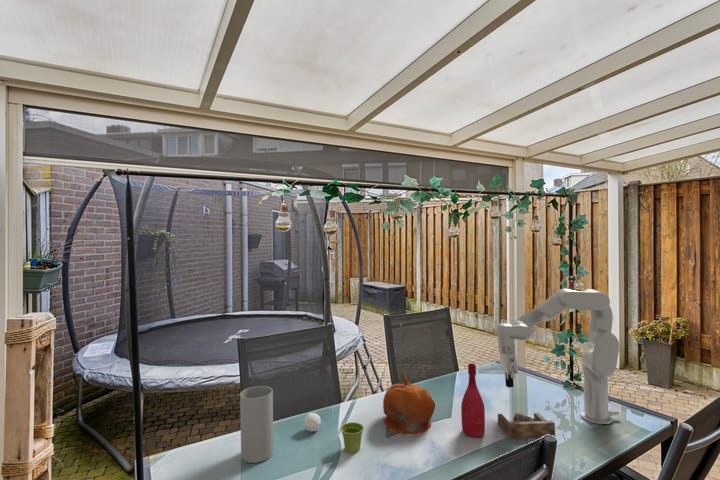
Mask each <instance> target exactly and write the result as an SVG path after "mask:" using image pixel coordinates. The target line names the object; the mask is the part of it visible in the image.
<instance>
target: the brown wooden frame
mask: <svg viewBox="0 0 720 480" xmlns="http://www.w3.org/2000/svg"><path fill="white" fill-rule="evenodd" d="M533 419H535V420H537V421H527V422H513V421H509V420H508V419H507V418H506V417H505V416H504V415H503V413H497V424H498V425H499V426H500V427H501V429H502V430H503V431H504V433H506V435H507V436H508V437H509V438H510V439H513V440H514V439H542V438H541V437H542V436H544V435H546V434H550V435H554V436H555V437H556V422H555V421H553V420H547V418H545V417H544V416H543V415H542V414H541V413H539V412H534V413H533Z"/></svg>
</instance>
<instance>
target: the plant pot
mask: <svg viewBox="0 0 720 480" xmlns="http://www.w3.org/2000/svg"><path fill="white" fill-rule="evenodd" d="M340 431H341V433H342V437H343V445H344V450H345V451H346V452H347V453H354V454H355V453H358V452H359V451H360V449H361V442H362V436H363V432H364V425H363V424H361V423H359V422H345V423H343V424H342V425H341V427H340Z"/></svg>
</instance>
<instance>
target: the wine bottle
mask: <svg viewBox="0 0 720 480" xmlns="http://www.w3.org/2000/svg"><path fill="white" fill-rule="evenodd" d="M467 369H468V370H467V374H468V383H467V387H466V390H465V392H464V394H463V397H462V400H461V407H460V409H461V412H460V415H461V429H462V432H463V433H464V434H465V435H466V436H469V437H472V438H480V437H482V436H483V435H485V431H486V427H485V426H486V412H485V411H486V410H485V404H484V400H483V398H482V395H481V393H480V390H479V388H478V386H477V381H476V375H477V366H476V364H475V363H473V362H471V363H468V364H467Z"/></svg>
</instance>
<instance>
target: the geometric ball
mask: <svg viewBox="0 0 720 480" xmlns="http://www.w3.org/2000/svg"><path fill="white" fill-rule="evenodd" d="M321 424H322V419H321V417H320V415H318V414H317V413H315V412H310V413H308V414H306V416H305V417H304V419H303V427H304V429H305V430H306V431H307V432H309V431H310V432H309V433H314V432H313V431H315V432H317V431H318V430H319V429H320V427H321ZM316 430H317V431H316Z"/></svg>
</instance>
